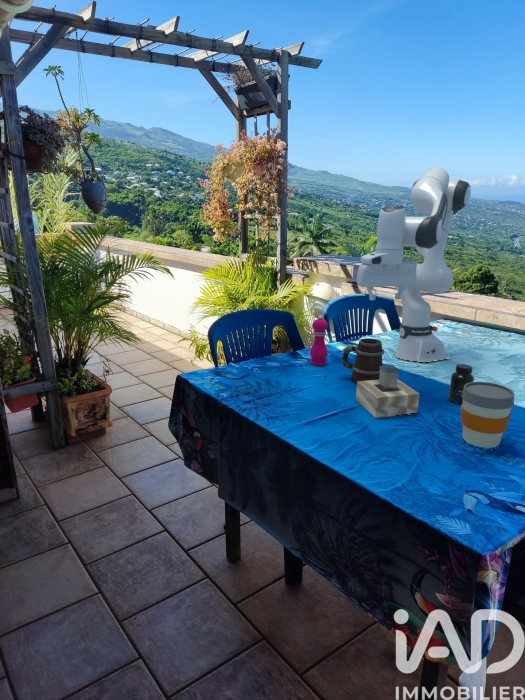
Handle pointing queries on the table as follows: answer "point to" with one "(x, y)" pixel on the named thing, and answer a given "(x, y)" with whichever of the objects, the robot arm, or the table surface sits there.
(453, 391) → the supplement bottle
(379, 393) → the well block
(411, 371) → the table surface
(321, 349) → the pepper mill
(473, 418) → the reusable coffee cup
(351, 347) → the mug
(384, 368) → the grey rectangular bar
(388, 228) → the robot arm
